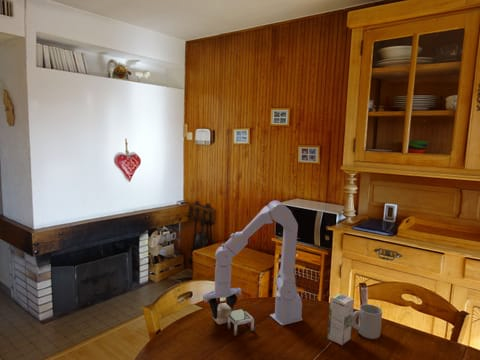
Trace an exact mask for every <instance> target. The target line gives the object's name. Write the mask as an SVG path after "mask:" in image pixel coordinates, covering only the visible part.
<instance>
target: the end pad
mask: <svg viewBox="0 0 480 360" xmlns="http://www.w3.org/2000/svg"><path fill="white" fill-rule="evenodd" d="M244 312H245V311H244V310H243V309H242V308H240V309H237V310H232V313H231V317H232V318H233V319H234V320H235V321H236V322H237V321H241V320H244ZM247 319H249V318H248V317H247Z"/></svg>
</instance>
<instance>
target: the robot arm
mask: <svg viewBox="0 0 480 360" xmlns="http://www.w3.org/2000/svg"><path fill="white" fill-rule="evenodd" d="M273 221H274V222H276V223H277V224H280V225H281V226H282V228H283V231H282V243H281V244H282V245H281V255H280V257H281V258H280V268H279V269H278V274H277V276H276V278H275V282H274V283H275V286H276V288H277V290H276V292H275V303H274V304H275V305H274V307H275V308H274V313H271V314H269V316H270V318H272V319H273V320H274V321H275V322H277V323H278V324H279V325H281V326H286V325H290V324H294V323H296V322H300V321H303V317H302V309H303V301H302V298H301V296H300V295H299V294H298V287H297V284H296V277H295V264H296V253H297V241H298V240H297V239H298V230H299V229H298V228H299V225H298V222H297V220H296V218H295V216H294V215H293V213H292V210H290V208H288V207H287V206H286V205H285V204H284V203H282V202H281V201H280V200H275V199H274V200H272V201H270V202H269V203H268V204H267V205H265V206H264V207H262V208H261V210H260V211H259V213H257V214H256V215H255V217H254V218H253V219H252V220H251V221H250V222H249V223H248V224H247V225H246V226H245V227H244V229H242V230H241V231H236V232H235V233H233V232H232V233H231V234H230V237H229V239H228V240H227V241H226V242H225V243H222V244H221V246H219V247H217V248H216V250H215V253H214V256H215V269H214V290H212V291H209V292H208V293H204V294H202V300H203V301H204V302H205V303H206V302H208V304H209V306H210V308H211V313H212V318H213V317H214V319H217V309H218V304H220V303H219V302H218V301H217V299H220V298H221V299H225V298H226V300H225V301H226V304H227V305H228V306H229V307H230V308H231V313H232V311H233V309H234V306H235V304H236V303H237V301H238V296H241V295H242V289H241V288H240V287H231V285H232V284H231V283H232V267H231V265H232V262H233V257H235V256H237V254H239V253H240V252H241V251H242V250H243V249H244V247H246V246H247V245H248V241H249V240H248V239H249V238H250V237H251V236H253V234H254V233H255V232H257V231H258V230H259V229H260V228H261V227H263V226H264V225H266V224H273ZM237 295H238V296H237ZM214 319H213V320H214Z"/></svg>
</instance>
